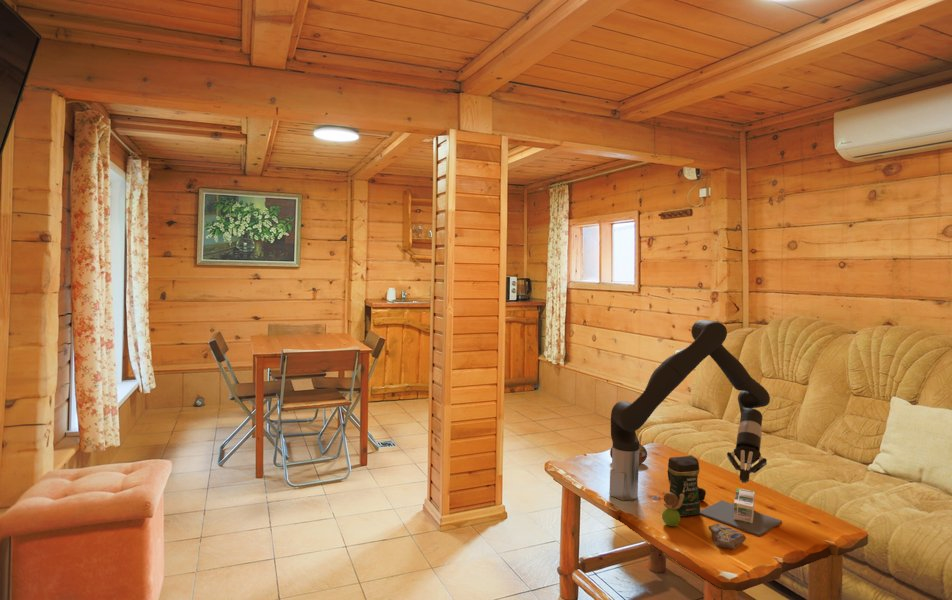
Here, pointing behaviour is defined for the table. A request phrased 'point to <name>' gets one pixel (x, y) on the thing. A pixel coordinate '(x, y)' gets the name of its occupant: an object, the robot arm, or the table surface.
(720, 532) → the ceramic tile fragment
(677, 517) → the snail figurine
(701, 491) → the hand tool
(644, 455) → the tin
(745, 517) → the syrup box
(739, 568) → the table surface
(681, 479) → the coffee jar
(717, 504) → the charcoal mat
